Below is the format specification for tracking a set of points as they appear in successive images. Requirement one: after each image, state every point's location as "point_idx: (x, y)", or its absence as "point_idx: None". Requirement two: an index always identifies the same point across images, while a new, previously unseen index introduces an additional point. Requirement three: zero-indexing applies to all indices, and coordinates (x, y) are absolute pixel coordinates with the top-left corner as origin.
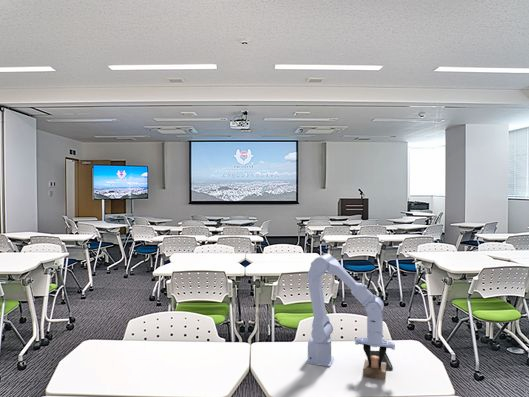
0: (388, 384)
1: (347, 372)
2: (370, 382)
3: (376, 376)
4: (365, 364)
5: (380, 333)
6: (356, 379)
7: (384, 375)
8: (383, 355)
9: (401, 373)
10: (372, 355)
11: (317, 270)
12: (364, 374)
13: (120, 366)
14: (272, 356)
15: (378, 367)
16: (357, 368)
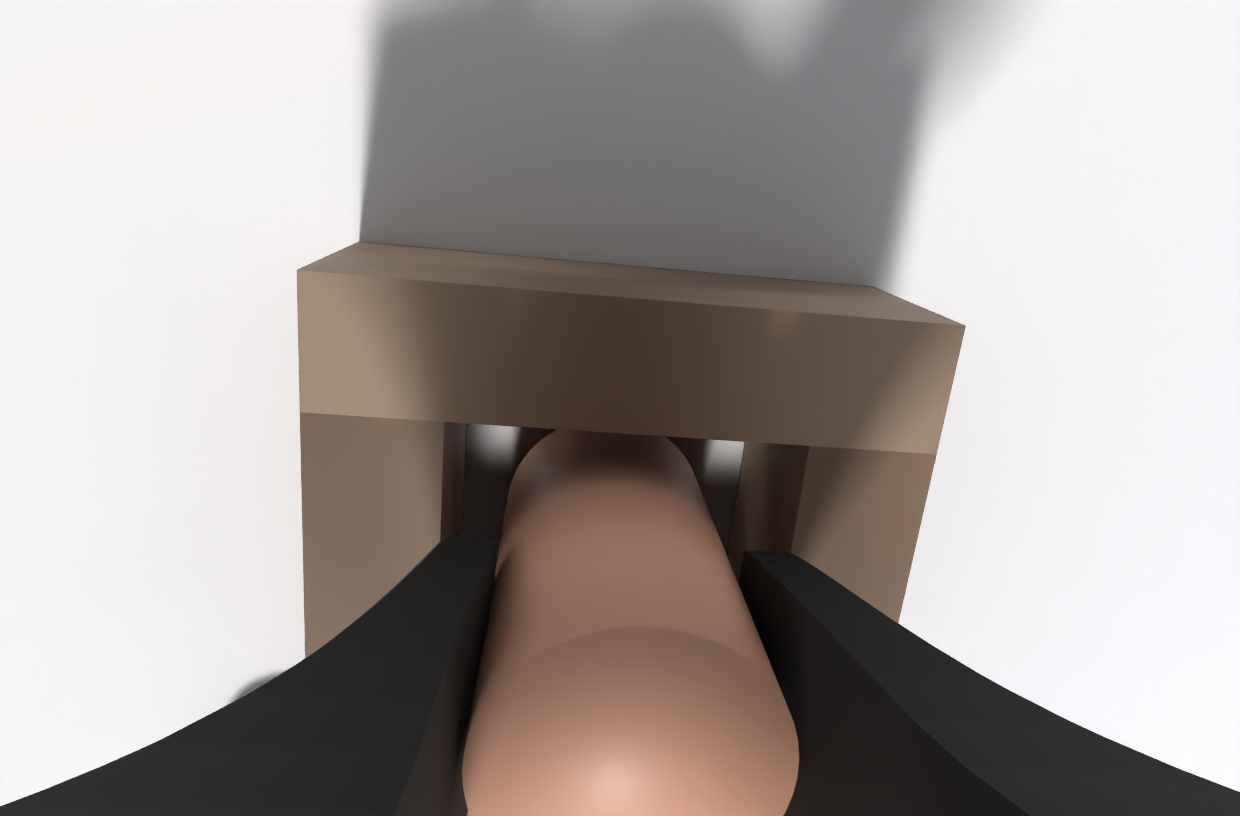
0: (270, 49)
1: (1195, 389)
2: (719, 44)
3: (570, 267)
4: (868, 593)
5: None
6: (1043, 114)
7: (350, 259)
8: (150, 748)
9: (18, 645)
10: None
11: None
12: (864, 297)
13: None
14: None
15: (513, 530)
16: (957, 606)
